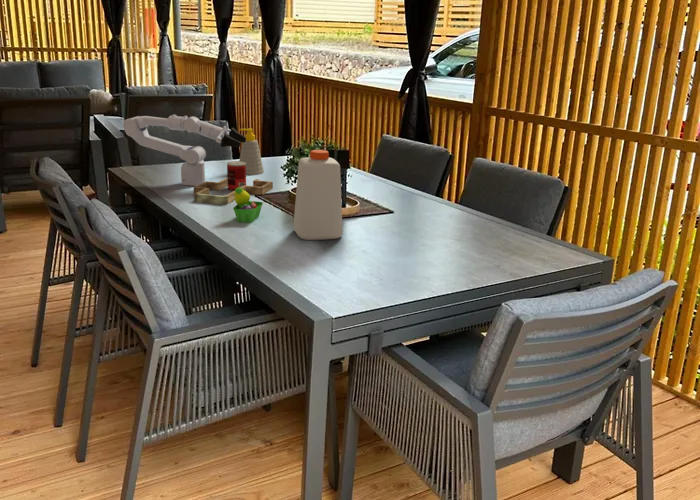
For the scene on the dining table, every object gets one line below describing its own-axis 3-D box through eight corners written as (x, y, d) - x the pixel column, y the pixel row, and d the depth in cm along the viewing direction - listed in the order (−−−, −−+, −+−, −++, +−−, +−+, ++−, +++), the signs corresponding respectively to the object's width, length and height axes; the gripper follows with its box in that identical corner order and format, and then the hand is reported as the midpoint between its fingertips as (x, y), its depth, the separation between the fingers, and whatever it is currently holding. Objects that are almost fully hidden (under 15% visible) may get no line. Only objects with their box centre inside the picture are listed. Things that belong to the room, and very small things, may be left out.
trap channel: (182, 200, 258) (182, 192, 257) (218, 182, 289) (218, 175, 288) (244, 206, 252) (244, 198, 251) (274, 187, 284) (274, 180, 283)
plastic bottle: (299, 241, 214) (301, 155, 205) (291, 228, 227) (292, 147, 218) (345, 239, 218) (348, 155, 209) (333, 226, 231) (336, 146, 222)
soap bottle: (234, 170, 314) (233, 127, 308) (259, 169, 319) (259, 126, 313) (241, 175, 303) (240, 131, 297) (267, 174, 308) (267, 130, 302)
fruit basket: (253, 224, 231) (252, 192, 227) (229, 221, 232) (228, 190, 229) (263, 215, 241) (263, 185, 238) (240, 213, 243) (240, 183, 239)
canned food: (248, 187, 283) (247, 161, 279) (243, 191, 275) (243, 165, 272) (230, 186, 283) (230, 160, 280) (225, 190, 276) (224, 164, 272)
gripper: (208, 126, 268) (239, 138, 268) (220, 118, 281) (250, 129, 281) (204, 142, 271) (235, 154, 271) (216, 134, 284) (246, 144, 284)
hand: (242, 142), depth 276 cm, fingers open, 7 cm apart
